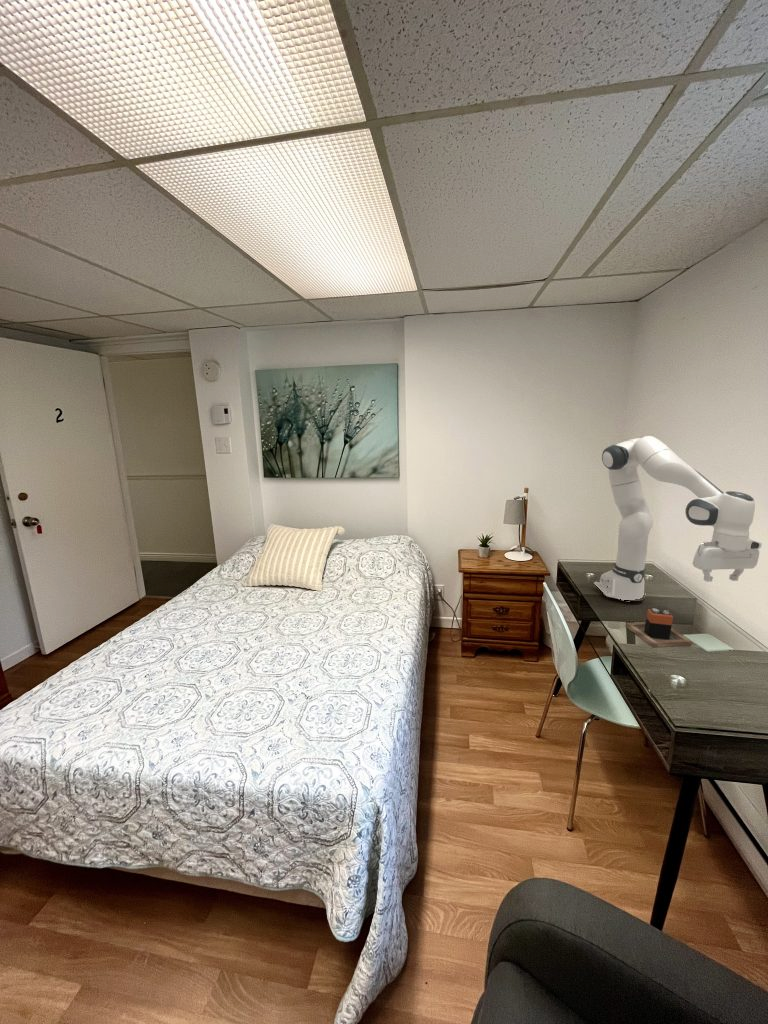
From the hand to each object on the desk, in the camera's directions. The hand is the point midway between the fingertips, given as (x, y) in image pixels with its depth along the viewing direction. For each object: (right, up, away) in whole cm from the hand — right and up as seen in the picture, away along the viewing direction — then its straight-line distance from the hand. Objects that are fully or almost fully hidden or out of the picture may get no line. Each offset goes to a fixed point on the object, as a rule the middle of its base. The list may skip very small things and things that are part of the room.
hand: (720, 580), depth 132 cm
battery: (-15, -22, +10) cm, 28 cm away
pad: (0, -23, +5) cm, 23 cm away
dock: (-15, -22, +10) cm, 28 cm away
